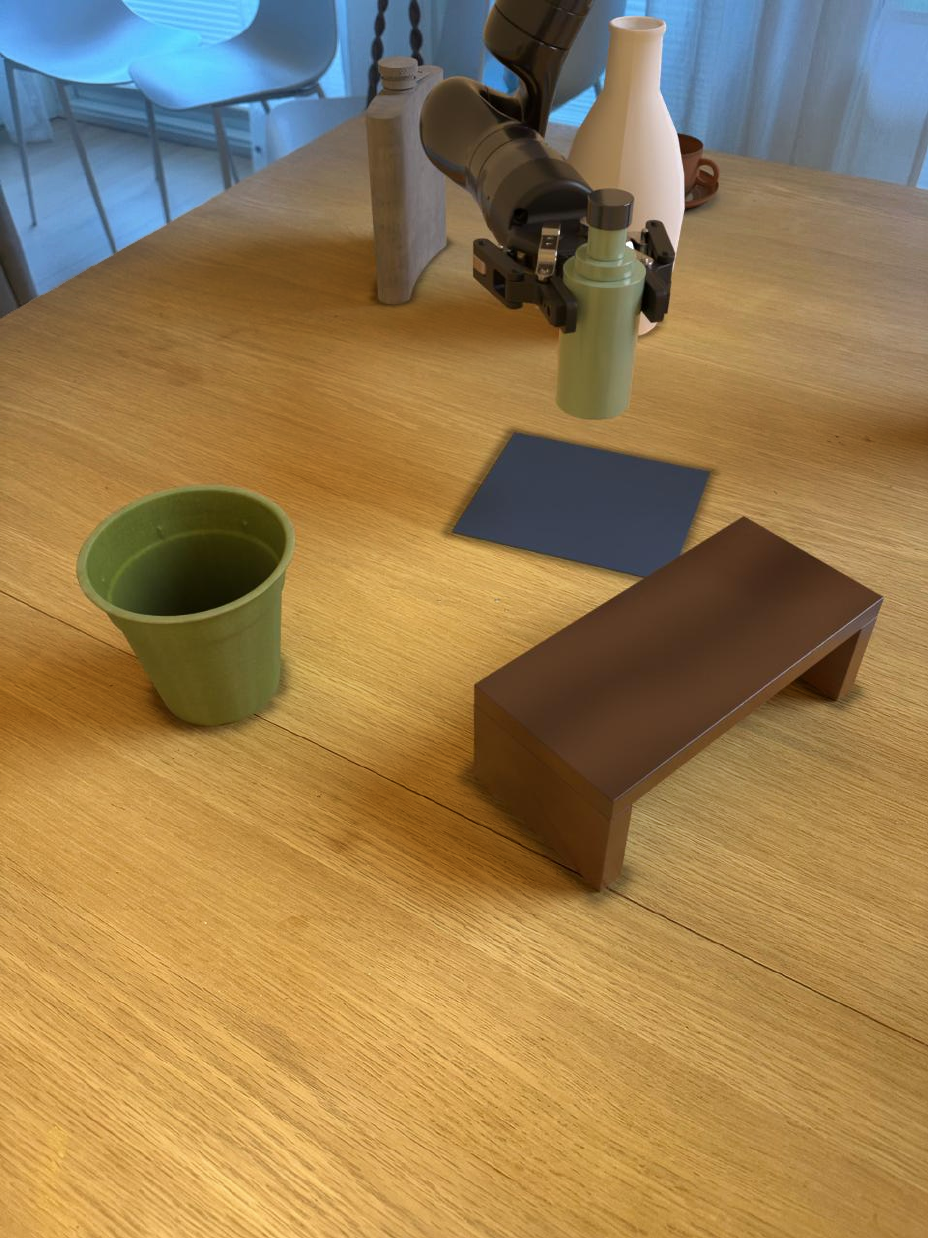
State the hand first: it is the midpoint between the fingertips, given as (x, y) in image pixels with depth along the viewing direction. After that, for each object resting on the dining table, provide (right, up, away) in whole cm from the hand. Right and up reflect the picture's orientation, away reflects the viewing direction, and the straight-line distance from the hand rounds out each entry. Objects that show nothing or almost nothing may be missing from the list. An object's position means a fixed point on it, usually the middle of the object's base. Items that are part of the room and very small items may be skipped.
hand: (616, 313), depth 66 cm
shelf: (+3, -26, -3) cm, 26 cm away
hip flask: (-15, +16, +43) cm, 48 cm away
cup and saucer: (+14, +30, +56) cm, 65 cm away
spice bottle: (-1, -4, +7) cm, 8 cm away
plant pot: (-25, -23, 0) cm, 34 cm away
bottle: (+4, +9, +35) cm, 36 cm away
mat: (0, -11, +13) cm, 17 cm away
